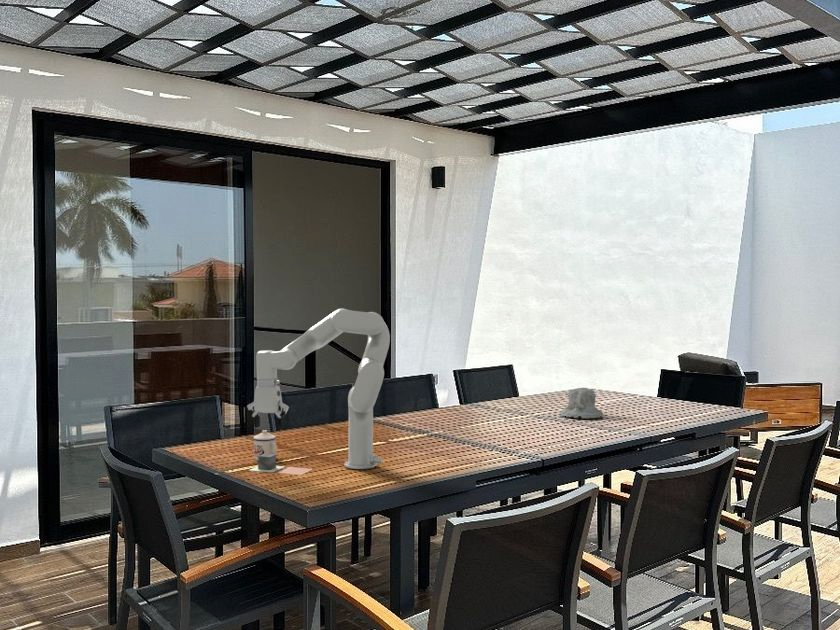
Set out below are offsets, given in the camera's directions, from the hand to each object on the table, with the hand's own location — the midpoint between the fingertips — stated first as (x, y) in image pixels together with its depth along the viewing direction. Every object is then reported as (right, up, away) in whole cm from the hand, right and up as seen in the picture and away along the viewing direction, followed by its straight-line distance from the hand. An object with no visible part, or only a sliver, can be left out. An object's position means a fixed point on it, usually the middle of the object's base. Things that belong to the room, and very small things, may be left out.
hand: (268, 427), depth 304 cm
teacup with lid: (-4, -16, +18) cm, 24 cm away
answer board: (+5, -16, -1) cm, 17 cm away
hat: (+146, -12, +131) cm, 196 cm away
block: (-1, -16, +1) cm, 16 cm away
